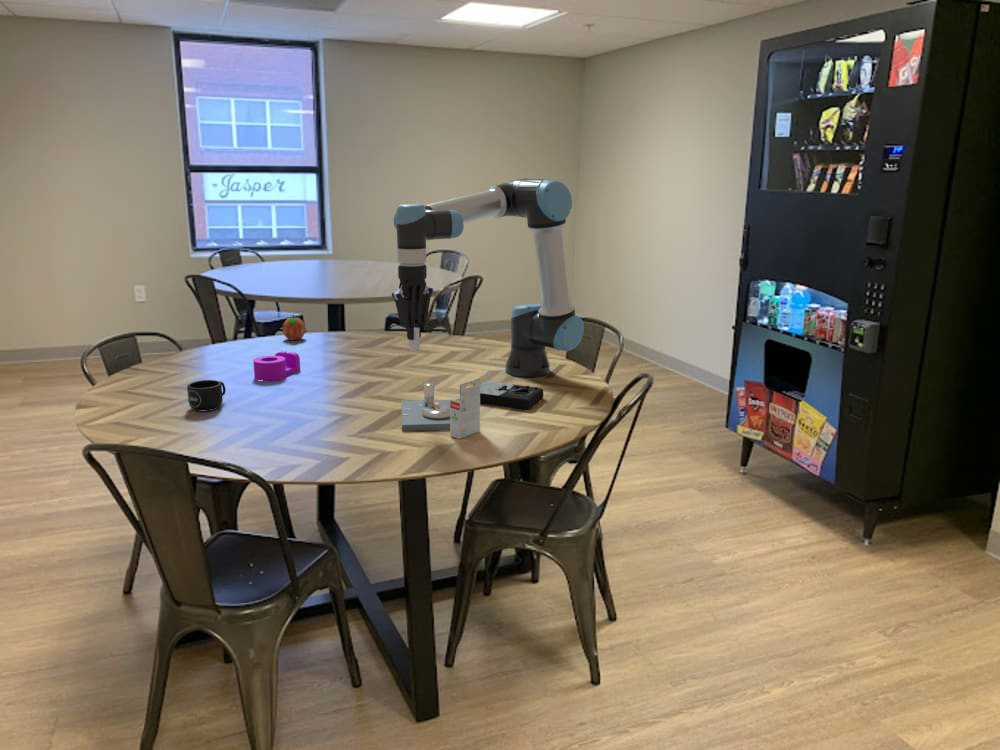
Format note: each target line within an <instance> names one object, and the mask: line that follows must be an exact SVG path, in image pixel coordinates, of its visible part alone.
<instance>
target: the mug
mask: <svg viewBox="0 0 1000 750" xmlns="http://www.w3.org/2000/svg"><path fill="white" fill-rule="evenodd" d="M186 389H187V400H188V401H187V402H188V405H189V407H190V408H191V409H193V410H194V411H195V410H196V411H198V410H210V409H214V410H215V408H216V409H218V408H219V407H221V406H222V404H223V400H224V399H223V398H224V397H223V396H225V394H226V386H225V383H224V382H223V381H219V380H216V379H215V380H214V379H204V380H203V379H201V380H196V381H193V382H190V383H188V384H187V385H186ZM210 411H211V410H210Z"/></svg>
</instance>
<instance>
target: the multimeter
mask: <svg viewBox="0 0 1000 750" xmlns="http://www.w3.org/2000/svg"><path fill="white" fill-rule="evenodd" d="M543 399H544V389H543V388H541V387H538V386H529V385H525V386H524V385H519V384H518V385H517V384H513V383H512V384H511V383H504V382H497V381H496V382H495V381H489V380H488V381H485V382H483V383H482V384H481V383H480V405H485V406H492V407H499V408H506V409H512V410H518V409H519V410H520V411H525V410H529V411H531V409H533V408H534V407H535V406H537V405H538V404H539V403H540V402H541V401H542V400H543ZM540 400H541V401H540ZM539 401H540V402H539ZM538 402H539V403H538ZM534 405H535V406H534ZM533 406H534V407H533ZM532 407H533V408H532Z"/></svg>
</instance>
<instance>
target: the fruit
mask: <svg viewBox="0 0 1000 750" xmlns="http://www.w3.org/2000/svg"><path fill="white" fill-rule="evenodd" d="M305 333H306V325H305V323H304V321H303V320H302V318H301V317H299V316H295V315H294V314H292V317H289V318H287V319H286V320H285V321H284V323H283V324H282V334H283V335H284V337H286V339H287V340H290V341H299V340H301V339H302V338H303V337H304V336H305Z"/></svg>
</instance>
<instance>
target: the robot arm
mask: <svg viewBox="0 0 1000 750" xmlns="http://www.w3.org/2000/svg"><path fill="white" fill-rule="evenodd" d="M396 207H397V208H396V212H395V214H394V216H393V225H394V228H395V230H396V242H397V244H396V245H397V263H398V264H399V265H397V276H398V279H399V284H398V289H397V290H396V291H395V292H394V291H393V292H392V293H391V297H392V299H393V300H394V302H395V303H394V304H395V307H396V311H397V315H398V316H397V317H398V320H399V323H400V324H399V325H400V326H402V327H404V328H406V337H407V340H408V350H409V351H410V352H414V353H417V352H420V351H421V349H420V347H421V345H420V344H421V343H420V339H421V338H422V333H421V332H422V329H421V328H423V327H424V326H425V324H427V322H428V316H429V310H430V302H431V298H432V297H431V296H432V294H433V293H434V288H432V287H429V286H428V285H427V282H426V279H427V276H428V275H427V269H428V268H427V265H426V263H427V241H431V240H446V239H447V240H451V239H456V238H458V237H460V236H461V235H462V233H463V231H464V224H465V223H469V222H472V221H477V220H481V219H485V218H489V217H494V218H496V219H497V218H503V217H518V218H525V219H526V220H527V227H528V230H531V231H532V232H533V237H534V248H535V255H536V262H537V263H536V265H537V271H538V279H539V287H540V290H539V291H540V296H541V303H528V304H520V305H516V306H514V307H513V309H512V310H511V316H510V321H511V322H510V323H511V324H510V326H511V327H510V329H511V330H510V331H511V332H510V351H509V353H508V357H507V360H506V362H505V369H504V370H505V373H507V374H509V375H511V376H515V377H520V378H521V377H524V378H536V376H538V377H543V376H542V375H544V376H547V375H548V373H549V374H550V370H551V368H550V367H551V365H550V362H549V361H550V360H549V358H548V355H547V351H546V348H550V349H553V350H556V351H563V352H570V351H572V350H573V349H575V348H576V347H577V346H578V345H579V344H580V342H581V340H582V339H583V336H584V331H585V323H584V321H583V319H582V318H581V317H580V316H577V315H576V309H575V306H574V305H573V304H572V302H570V297H569V296H570V295H569V287H568V278H567V269H566V260H565V250H564V240H563V238H564V237H563V231H562V229H563V227H564V226H565V225H566V223H567V220H566V218H568V217H569V215H570V213H571V210H572V207H573V199H572V194H571V192H570V189H569V188H568V187H567V185H566V184H564V183H563V182H562V181H560V180H554V179H551V178H550V179H549V178H545V179H544V178H518V179H515V180H511V181H506V182H504V183H501V184H500V183H499V184H497V185H496V184H495V185H492V186H489V187H488V189H487V190H485V191H481V192H480V191H479V192H477V193H473V194H468V195H463V196H460V197H459V196H458V197H454V198H450V199H445V200H442V201H437V202H433V203H428V204H425V205H424V204H419V203H410V204H408V203H406V204H405V203H403V204H402V203H401V204H399V205H398V206H396ZM546 374H547V375H546ZM533 376H534V377H533Z"/></svg>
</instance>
